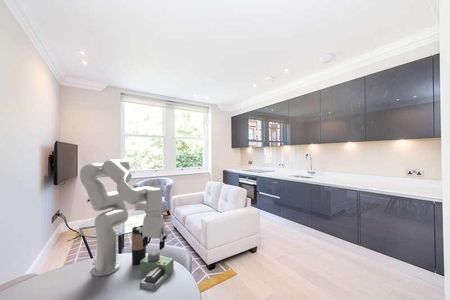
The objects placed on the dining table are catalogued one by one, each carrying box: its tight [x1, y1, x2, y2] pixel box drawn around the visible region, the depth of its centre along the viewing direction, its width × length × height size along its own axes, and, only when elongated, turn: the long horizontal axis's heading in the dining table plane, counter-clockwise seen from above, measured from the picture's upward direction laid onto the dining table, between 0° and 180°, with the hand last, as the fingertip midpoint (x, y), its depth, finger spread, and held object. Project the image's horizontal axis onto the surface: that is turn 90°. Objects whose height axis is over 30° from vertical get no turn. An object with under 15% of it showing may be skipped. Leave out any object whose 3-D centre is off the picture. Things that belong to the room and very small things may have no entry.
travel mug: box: [131, 224, 147, 266], centre depth 111 cm, size 8×8×20 cm
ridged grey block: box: [145, 267, 162, 284], centre depth 93 cm, size 4×7×5 cm, turn 167°
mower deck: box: [139, 250, 174, 291], centre depth 97 cm, size 16×16×9 cm
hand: (153, 247), depth 94 cm, fingers open, 9 cm apart
